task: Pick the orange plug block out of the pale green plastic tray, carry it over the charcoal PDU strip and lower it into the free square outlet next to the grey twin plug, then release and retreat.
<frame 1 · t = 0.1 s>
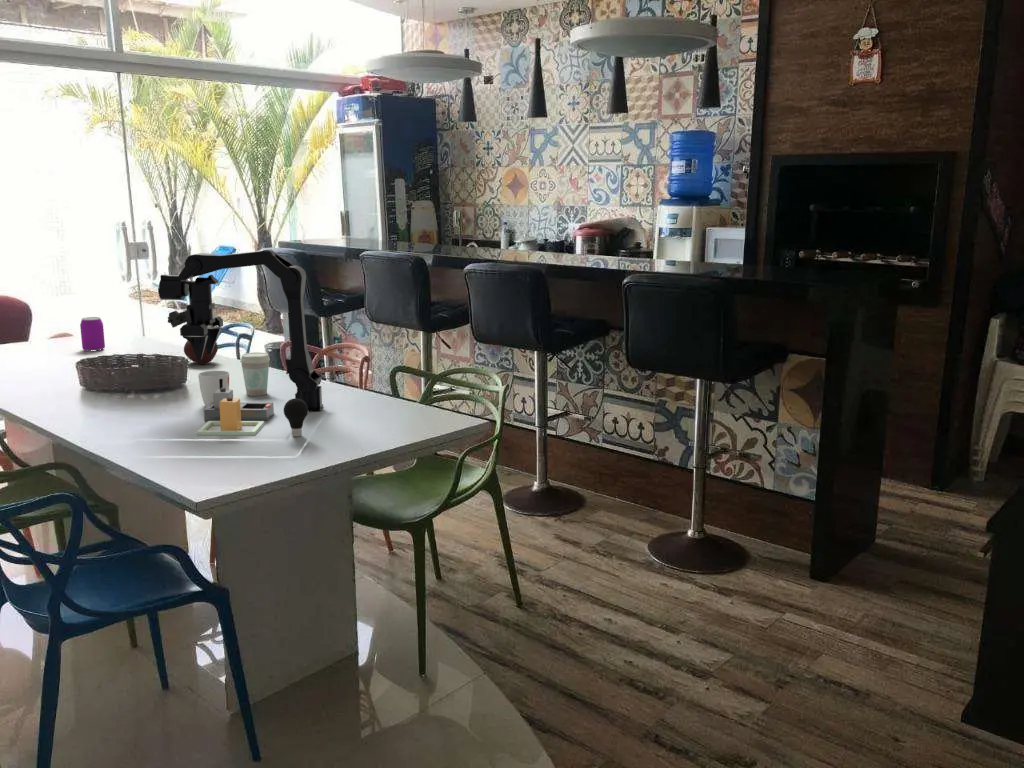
hand: (204, 356, 234), 15 cm above the table, fingers open, 9 cm apart
beverage can: (94, 350, 320), on the table
cup: (215, 409, 238), on the table
tray: (231, 433, 214), on the table
pdu strip: (240, 420, 226), on the table
plug: (231, 431, 214), resting on tray
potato: (201, 364, 299), on the table
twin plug: (224, 417, 225), resting on pdu strip
coffee cup: (256, 394, 256), on the table
light bulb: (296, 438, 211), on the table
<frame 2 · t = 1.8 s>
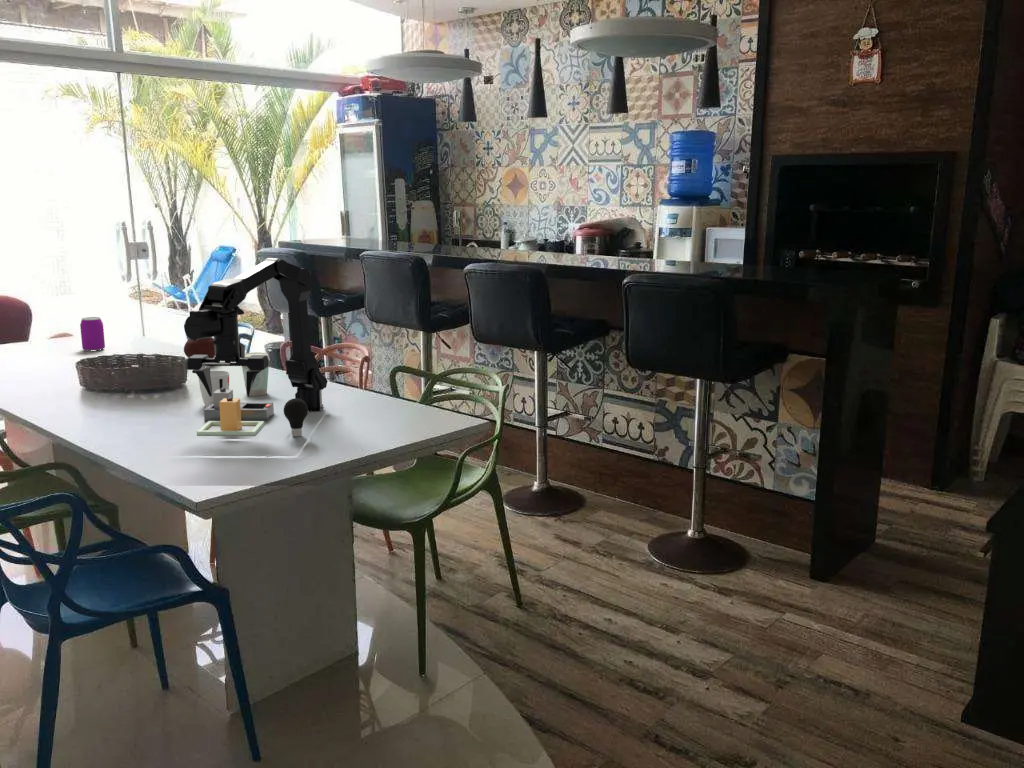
hand: (229, 396, 212), 9 cm above the table, fingers open, 9 cm apart
nothing on the table moved.
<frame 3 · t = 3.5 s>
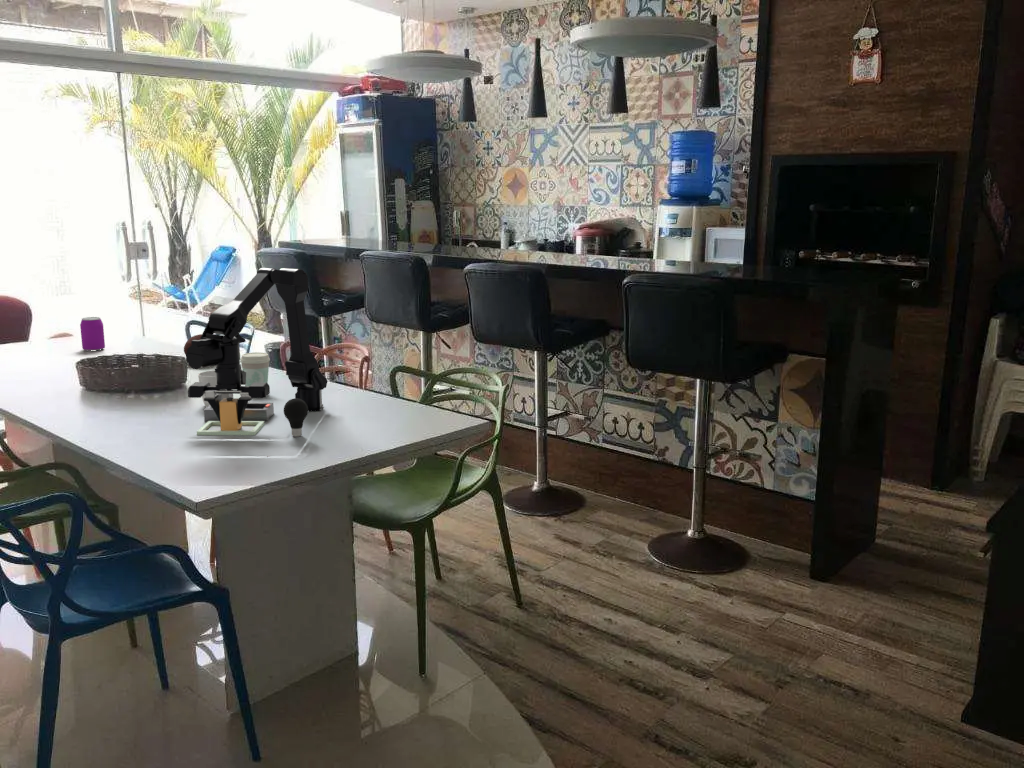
hand: (231, 423, 214), 3 cm above the table, fingers closed on plug, 4 cm apart
plug: (231, 431, 214), resting on tray, touching gripper
everything else where it was.
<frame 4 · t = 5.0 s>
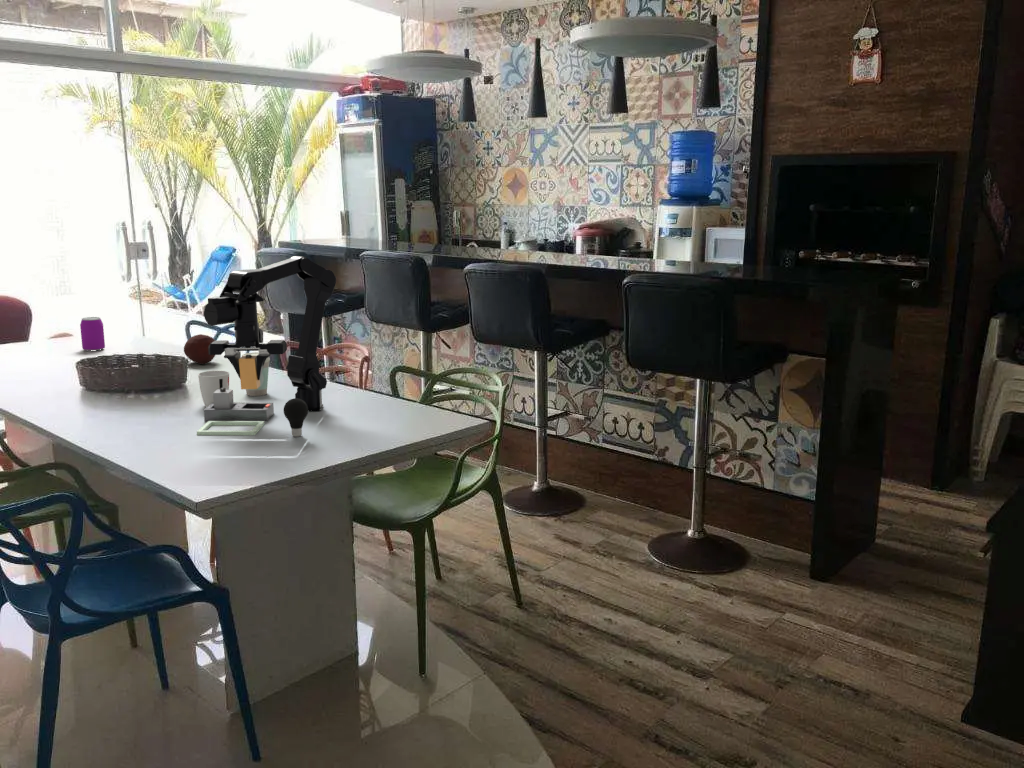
hand: (250, 379, 222), 12 cm above the table, fingers closed on plug, 4 cm apart
plug: (250, 387, 222), point 10 cm above the table, touching gripper
everything else where it was.
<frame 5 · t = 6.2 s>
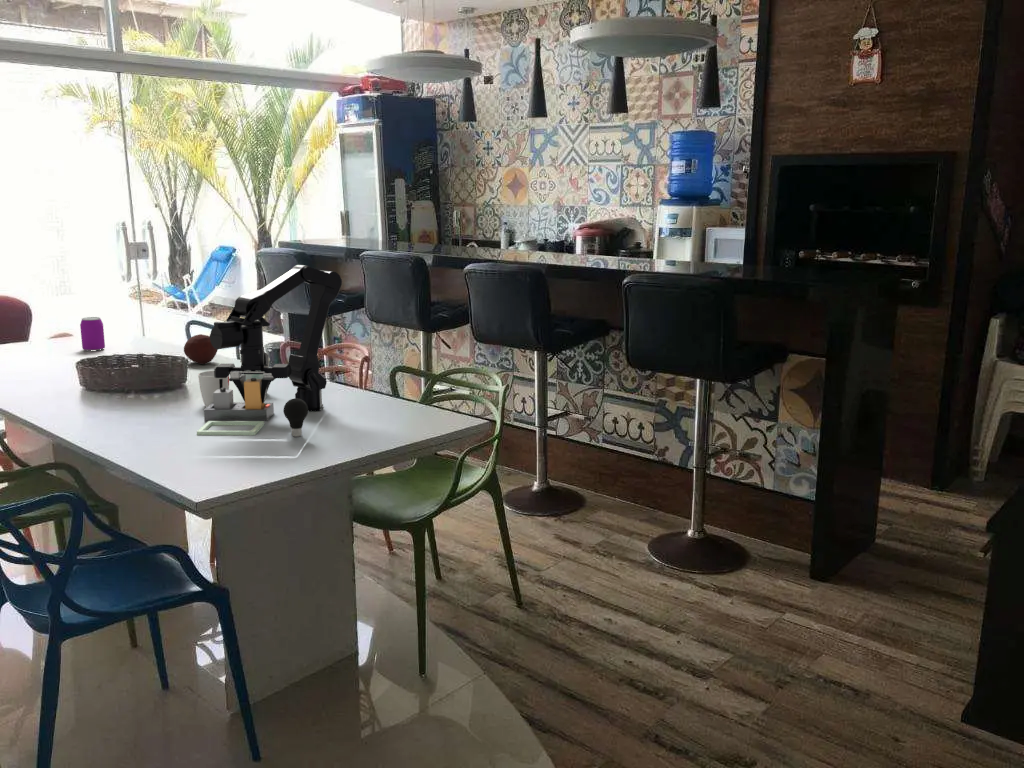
hand: (254, 402, 225), 5 cm above the table, fingers closed on plug, 4 cm apart
plug: (255, 410, 225), point 3 cm above the table, touching gripper
everything else where it was.
when the fingers open (4 cm above the table, at t = 6.9 s): plug drops 2 cm, resting on pdu strip.
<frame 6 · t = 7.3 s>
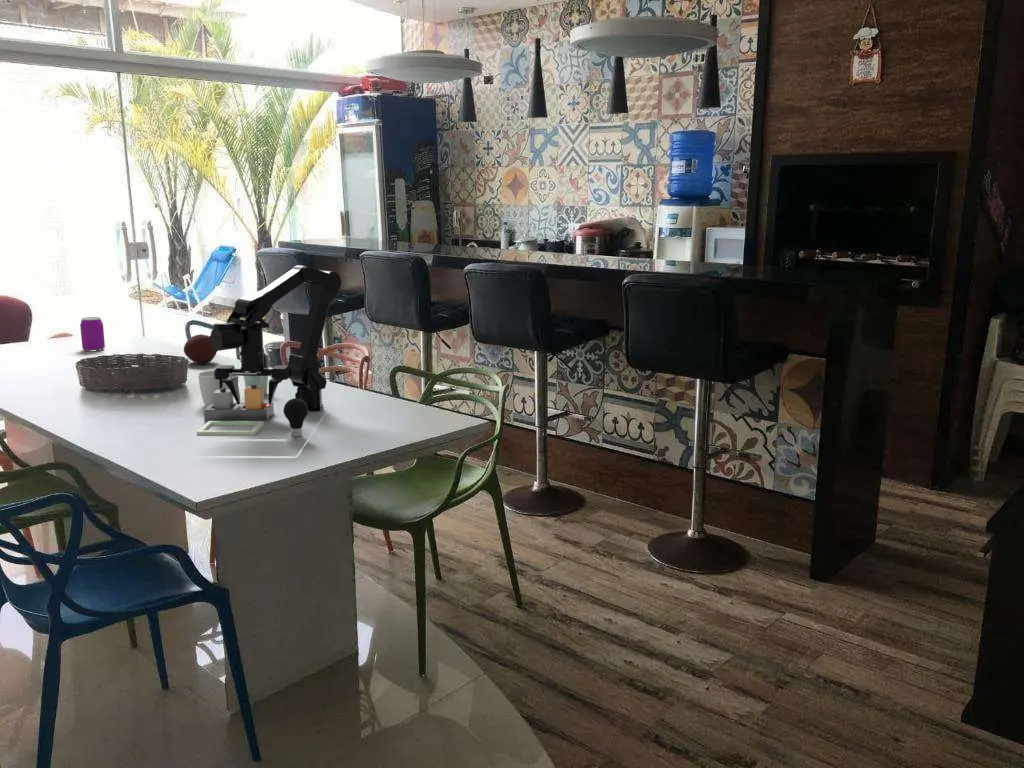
hand: (254, 404, 225), 4 cm above the table, fingers open, 8 cm apart
plug: (255, 417, 226), point 1 cm above the table, touching pdu strip
everything else where it was.
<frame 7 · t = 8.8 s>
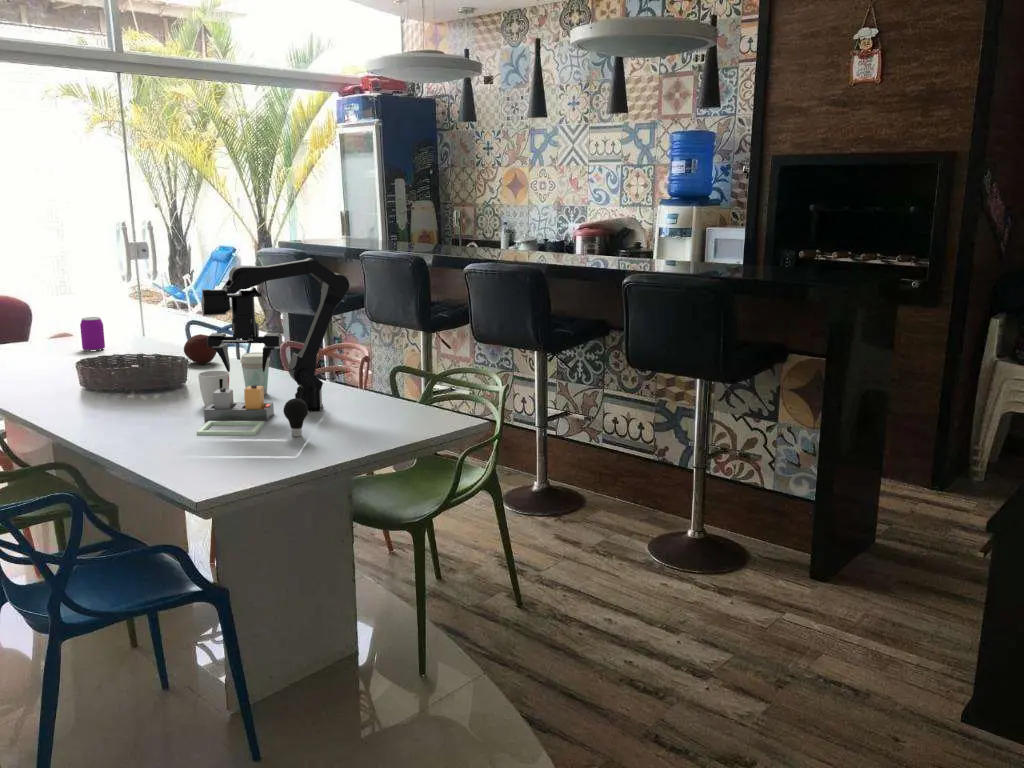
hand: (246, 371, 229), 12 cm above the table, fingers open, 9 cm apart
nothing on the table moved.
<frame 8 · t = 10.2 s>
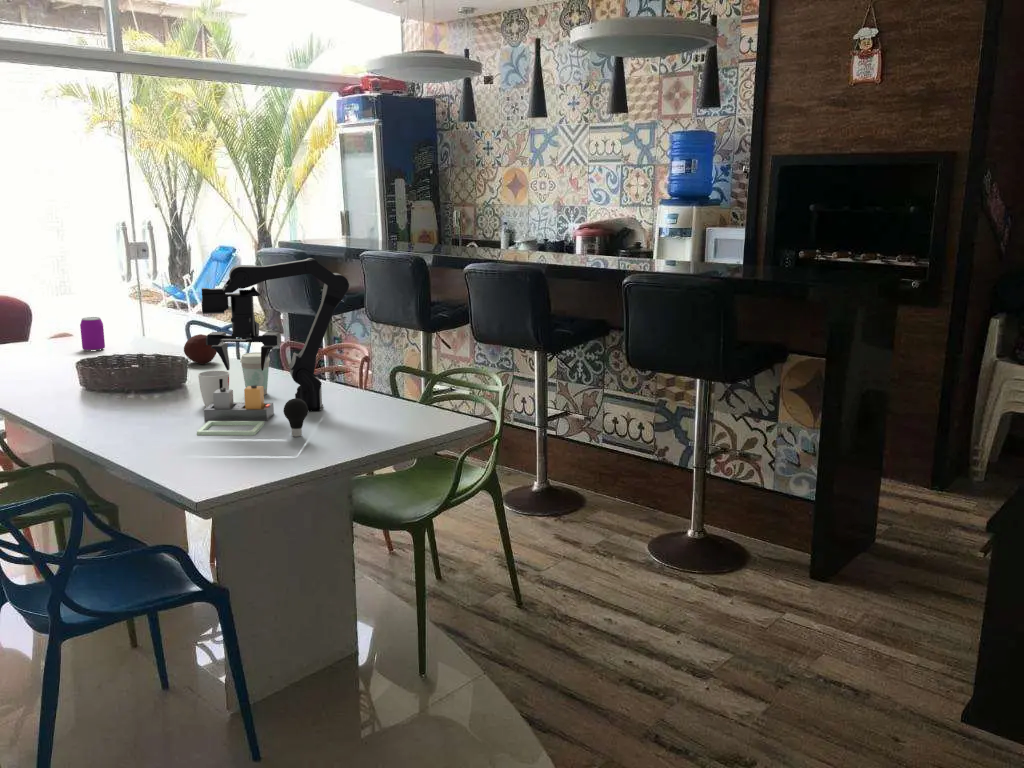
hand: (245, 370, 231), 12 cm above the table, fingers open, 9 cm apart
nothing on the table moved.
at the end: plug 0.1 cm from the target spot on the pdu strip, point 1.0 cm above the pdu strip's base; plug tilted 0°; the gripper is holding nothing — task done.
